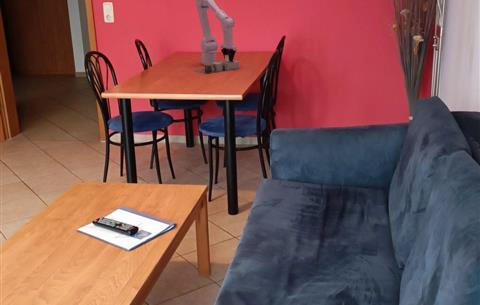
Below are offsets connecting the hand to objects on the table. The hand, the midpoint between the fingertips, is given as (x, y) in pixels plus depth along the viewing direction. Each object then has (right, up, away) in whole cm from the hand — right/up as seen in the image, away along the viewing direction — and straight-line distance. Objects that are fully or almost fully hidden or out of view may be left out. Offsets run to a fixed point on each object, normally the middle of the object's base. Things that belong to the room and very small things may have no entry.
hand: (228, 60), depth 353 cm
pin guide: (-7, -6, -4) cm, 10 cm away
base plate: (-7, -6, -1) cm, 10 cm away
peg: (0, -4, +1) cm, 4 cm away
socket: (0, -4, +1) cm, 4 cm away
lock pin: (-9, -7, -5) cm, 12 cm away
